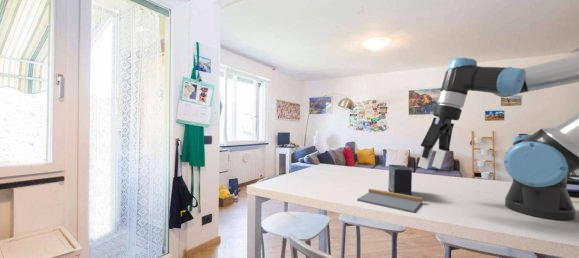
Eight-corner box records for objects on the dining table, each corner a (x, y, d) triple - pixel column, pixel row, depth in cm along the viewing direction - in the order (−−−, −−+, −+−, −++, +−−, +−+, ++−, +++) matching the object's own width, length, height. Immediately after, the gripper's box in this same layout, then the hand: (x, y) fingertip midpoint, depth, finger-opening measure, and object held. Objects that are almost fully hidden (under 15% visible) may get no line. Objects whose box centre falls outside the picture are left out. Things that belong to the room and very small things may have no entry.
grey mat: (422, 203, 82) (422, 197, 82) (413, 212, 74) (413, 206, 74) (370, 193, 94) (370, 188, 94) (357, 200, 85) (357, 195, 85)
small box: (412, 198, 87) (413, 169, 87) (393, 197, 89) (393, 169, 88) (405, 190, 98) (405, 164, 97) (387, 189, 99) (388, 164, 99)
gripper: (447, 110, 91) (430, 163, 94) (423, 97, 75) (403, 163, 77) (471, 114, 86) (452, 171, 88) (451, 101, 69) (428, 172, 71)
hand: (429, 167), depth 83 cm, fingers open, 13 cm apart
